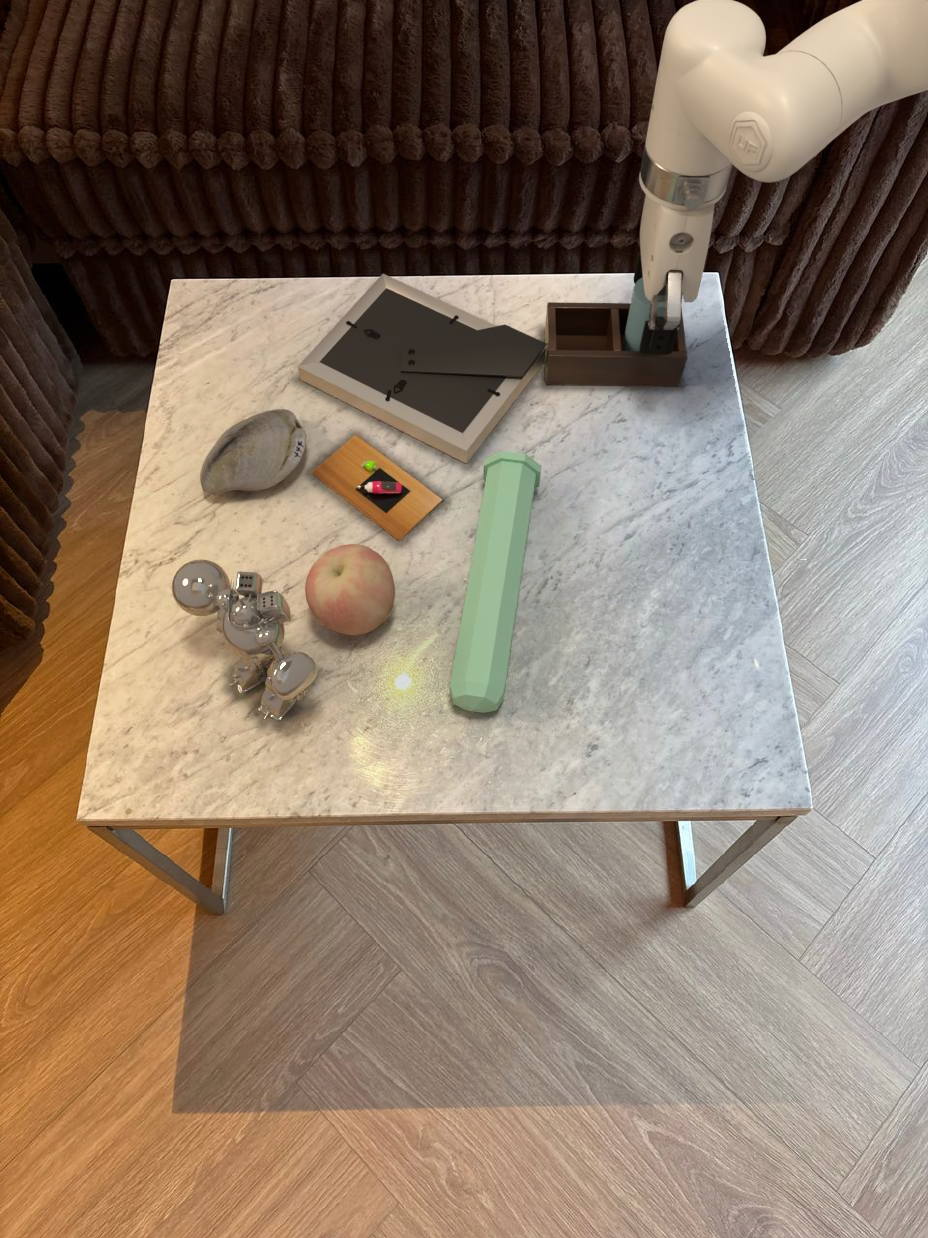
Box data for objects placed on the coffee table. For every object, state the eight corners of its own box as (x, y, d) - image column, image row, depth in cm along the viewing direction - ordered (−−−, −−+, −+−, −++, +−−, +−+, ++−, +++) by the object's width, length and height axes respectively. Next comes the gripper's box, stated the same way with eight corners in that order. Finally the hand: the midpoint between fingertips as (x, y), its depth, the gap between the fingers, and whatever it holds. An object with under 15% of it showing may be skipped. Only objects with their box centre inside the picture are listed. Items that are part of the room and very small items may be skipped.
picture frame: (544, 362, 101) (384, 287, 106) (546, 343, 98) (382, 267, 104) (466, 464, 95) (300, 379, 100) (466, 446, 92) (296, 361, 97)
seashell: (238, 529, 92) (226, 499, 87) (186, 479, 94) (172, 448, 90) (330, 457, 95) (323, 426, 91) (277, 412, 98) (268, 379, 94)
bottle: (660, 339, 101) (678, 266, 93) (663, 371, 99) (682, 299, 91) (619, 339, 102) (633, 266, 93) (621, 371, 100) (636, 299, 91)
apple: (363, 560, 90) (353, 513, 83) (415, 613, 87) (411, 569, 80) (297, 610, 87) (281, 566, 80) (349, 666, 85) (338, 626, 78)
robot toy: (183, 641, 86) (130, 556, 73) (235, 597, 88) (193, 507, 75) (291, 747, 81) (256, 677, 68) (343, 699, 83) (319, 621, 70)
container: (493, 695, 77) (531, 447, 88) (428, 696, 79) (473, 454, 90) (518, 722, 82) (551, 483, 92) (456, 722, 84) (495, 489, 95)
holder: (544, 332, 103) (547, 301, 99) (673, 333, 103) (681, 303, 99) (545, 385, 100) (548, 355, 96) (678, 386, 99) (687, 357, 95)
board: (356, 435, 97) (354, 426, 95) (442, 500, 93) (442, 491, 92) (311, 473, 94) (309, 464, 93) (398, 541, 91) (397, 532, 89)
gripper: (742, 238, 76) (696, 383, 91) (720, 101, 84) (681, 255, 99) (648, 237, 76) (619, 382, 92) (635, 100, 84) (610, 255, 100)
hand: (651, 316), depth 95 cm, fingers open, 9 cm apart
